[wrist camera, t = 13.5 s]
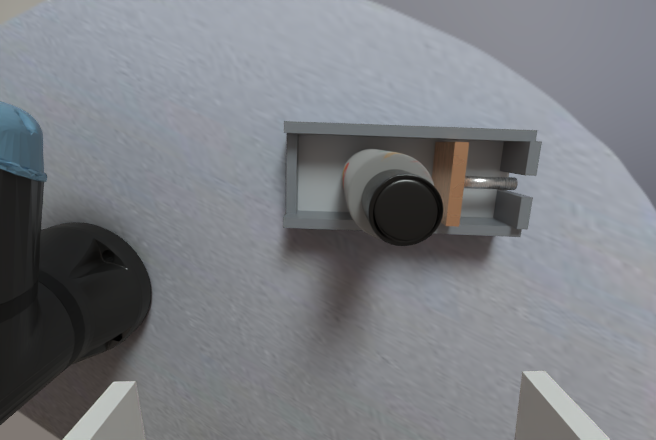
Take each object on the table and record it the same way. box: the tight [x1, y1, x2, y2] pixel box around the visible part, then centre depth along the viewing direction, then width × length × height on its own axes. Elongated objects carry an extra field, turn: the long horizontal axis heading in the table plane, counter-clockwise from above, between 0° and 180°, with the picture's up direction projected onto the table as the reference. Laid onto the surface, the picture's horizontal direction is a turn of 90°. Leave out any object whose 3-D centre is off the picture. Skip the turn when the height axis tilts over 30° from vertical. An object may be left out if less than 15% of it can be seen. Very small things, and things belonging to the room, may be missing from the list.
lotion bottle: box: [342, 149, 443, 246], centre depth 27 cm, size 6×6×20 cm
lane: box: [283, 121, 542, 237], centre depth 35 cm, size 23×10×6 cm, turn 88°
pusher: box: [432, 142, 517, 227], centre depth 34 cm, size 7×7×6 cm
